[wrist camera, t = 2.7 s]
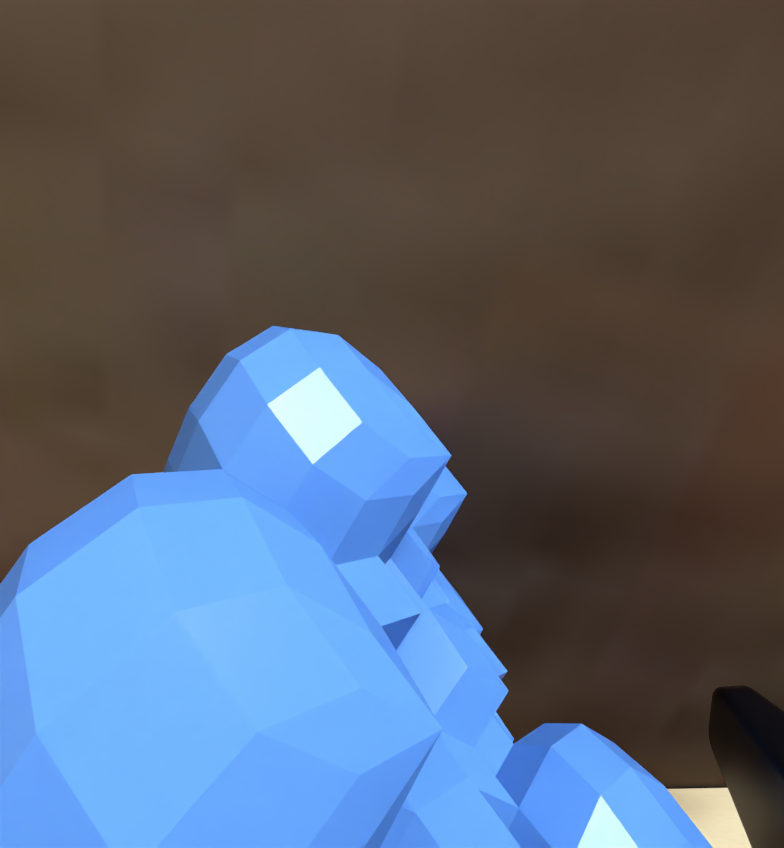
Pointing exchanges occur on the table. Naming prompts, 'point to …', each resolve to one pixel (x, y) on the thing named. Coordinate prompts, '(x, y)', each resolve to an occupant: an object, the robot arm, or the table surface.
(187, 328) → the table surface
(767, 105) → the table surface
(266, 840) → the grapes
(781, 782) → the robot arm
